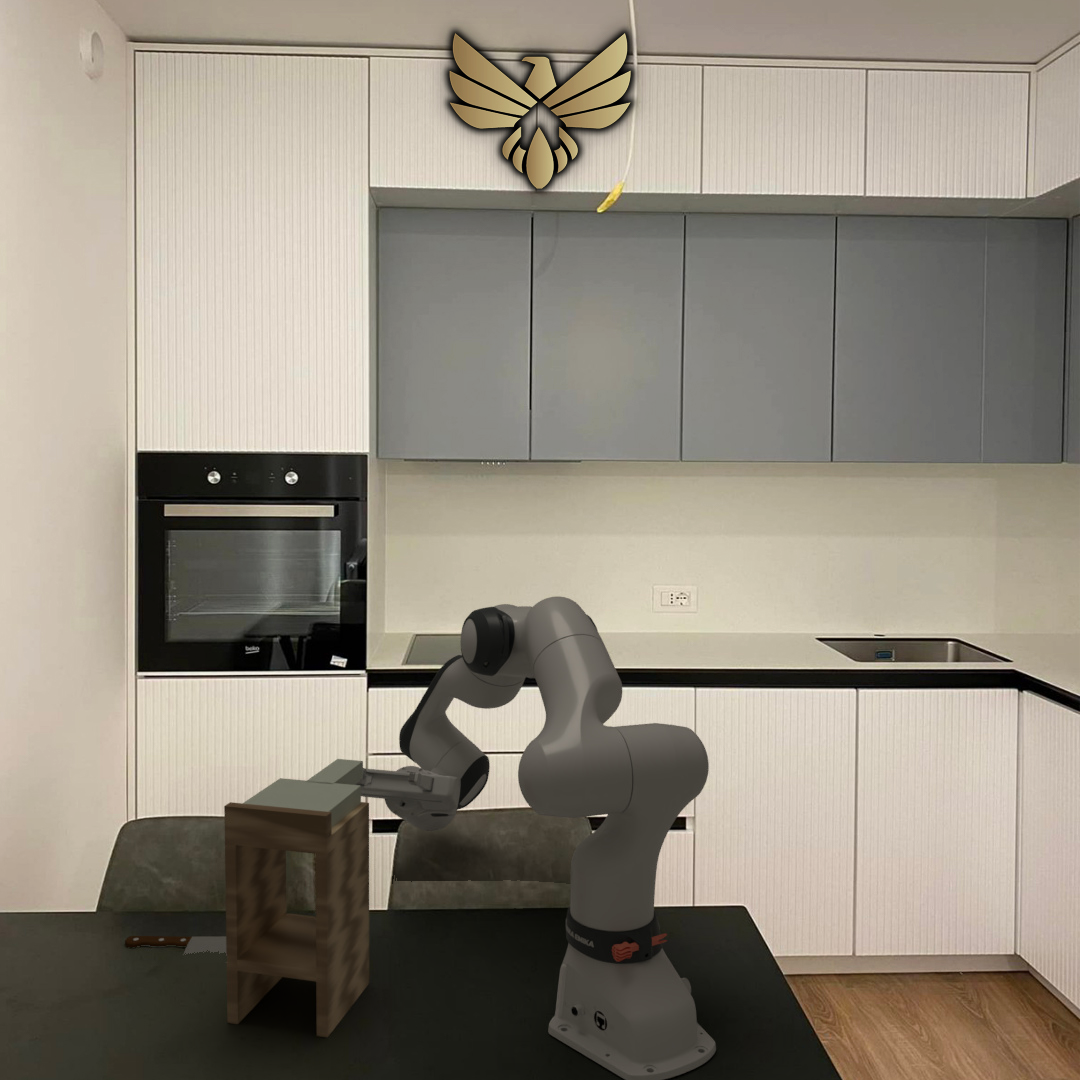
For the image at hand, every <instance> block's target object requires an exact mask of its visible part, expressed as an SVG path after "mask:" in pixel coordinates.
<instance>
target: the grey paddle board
mask: <svg viewBox="0 0 1080 1080" xmlns="http://www.w3.org/2000/svg"><path fill="white" fill-rule="evenodd" d="M363 768H364V761H363V760H355V759H354V760H353V759H344V758H343V759H342V758H337V759H336V760H334V761H333V762H332V763H330V764H328V765H326V767H324V768H323V769H321V770H320V771H318V772H317V773H315V774H314V775H313V776H311V777H310V778H308V779H307V780H305V779H304V780H301V779H294V778H293V779H291V778H278V779H276V780H275V781H274V782H272V783H271V784H269V785H268V786H266V787H265V788H263V789H262V790H260V791H259V792H257V793H256V794H255V795H253V796H251V797H250V798H248V799H247V800H245V801H244V802H242V803H243V804H253V805H263V806H274V807H284V808H294V809H304V810H314V811H325V812H331V828H332V827H334V826H335V825H336V824H337V823H338V822H339V821H341V820H342V819H343V818H344V817H345V816H346V815H348V814H349V813H350V812H351V811H352V810H354V809H355V808H356V807H357V806H358V805H359V804H361V802H362V799H361V798H362V796H361V786H360V785H354V784H355V783H357V782H358V781H359V780H360V779H362V778H363Z"/></svg>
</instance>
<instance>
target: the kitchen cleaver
mask: <svg viewBox="0 0 1080 1080" xmlns="http://www.w3.org/2000/svg"><path fill="white" fill-rule="evenodd" d="M124 945H126V946H128V947H137V946H141V945H150V946H166V945H176V946H187V947H186V948H184V949H185V950H184V952H183V954H182V956H183V955H184V954H185V953H186V954H188V953H189V954H190V953H191V954H192V953H194V952H195V953H197V952H198V953H199V952H203V951H204V952H206V951H207V950H208V951H210V953H211V952H213V953H214V952H218V951H219V954H220V953H224V952H225V953H226V935H225V936H192V935H191V936H174V935H173V936H169V935H168V936H166V935H164V936H163V935H156V936H155V935H131V936H128V937H127V938H126V939H125V940H124ZM126 946H125V947H126ZM128 947H127V948H128ZM208 951H207V952H208ZM204 952H203V953H204ZM195 953H194V954H195ZM186 954H185V955H186Z"/></svg>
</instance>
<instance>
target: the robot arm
mask: <svg viewBox="0 0 1080 1080" xmlns="http://www.w3.org/2000/svg"><path fill="white" fill-rule="evenodd" d="M459 644H460V651H461V652H460V653H461V654H458V655H454V656H453V657H452V658H450V659H448V660H447V661H445V663H443V665H442V666H441V667H440V668H439V670H438V671H437V672H436V674H435V676H434V677H433V679H432V680H431V682H430V684H429V686H428V687H427V689H426V690H425V692H424V694H423V696H422V697H421V699H420V701H419V703H418V705H417V706H416V708H415V709H414V711H413V712H412V713H411V715H410V716H409V717H408V718H407V720H406V721H405V722H404V723H403V725H402V726H401V728H400V731H399V738H398V739H399V750H400V752H401V753H402V754H403V755H404V756H406V757H407V758H408V759H410V760H411V761H412V762H414V763H415V764H416V765H418V766H416V765H407V766H403V767H400V768H398V769H397V770H385V769H376V768H375V769H374V768H365V767H363V778H362V779H360V780H359V781H358V782H357V783H355V784H354V785H360V786H361V797H364V798H371V799H372V798H373V799H374V798H375V799H382V800H383V799H384V802H385V804H386V807H387V809H389V811H390V812H391V813H392V814H394V815H395V816H397V817H399V818H401V819H402V820H403V821H405V822H407V823H408V824H410V825H411V826H413V827H415V828H417V829H419V830H421V831H425V832H426V831H427V832H435V831H439V830H443V829H444V828H446V827H447V826H449V825H450V824H451V822H452V821H454V819H455V816H456V814H457V812H458V810H461V809H464V808H466V807H467V806H468V805H470V804H471V803H472V802H473V801H474V800H476V798H477V797H478V796H479V795H480V794H481V793H482V792H483V790H484V789H485V787H486V785H487V783H488V780H489V774H490V759H489V756H488V755H487V754H486V753H484V751H482V750H481V749H480V748H479V747H478V746H477V744H475V743H473V741H472V740H470V739H469V738H468V737H467V736H466V735H465V734H464V733H463V732H462V731H460V730H459V729H458V728H457V727H456V726H455V725H454V724H453V722H452V721H450V719H449V717H448V716H447V714H446V713H447V712H446V711H447V710H448V709H449V706H450V705H451V703H452V701H453V700H454V699H457V700H458V701H461V702H463V703H465V704H467V705H469V706H471V707H475V708H476V709H477V708H478V709H485V710H487V709H488V710H489V709H490V710H491V709H496V708H500V707H501V708H502V707H503V706H505V705H507V704H509V703H510V702H512V701H513V700H514V699H515V698H516V696H517V695H518V694H519V692H520V691H521V689H522V687H523V685H524V682H525V680H526V678H528V679H535V681H536V684H537V687H538V689H539V690H538V691H539V693H540V696H541V700H542V703H543V706H544V711H545V721H544V724H543V728H541V731H540V732H539V734H538V735H537V736H536V737H535V738H533V739H532V740H531V741H530V742H529V743H528V745H527V746H526V747H525V749H524V751H523V752H522V755H521V756H520V761H519V762H518V763H519V764H518V770H517V778H518V780H517V781H518V786H519V790H520V792H521V794H522V796H523V798H524V801H525V802H526V804H527V806H528V807H530V808H531V810H532V811H534V812H535V813H537V814H538V815H540V816H548V817H555V818H568V819H577V818H578V819H579V818H584V817H585V818H587V817H593V816H595V817H596V816H602V815H606V817H605V819H604V821H602V823H601V824H600V825H599V827H597V828H596V830H595V831H593V832H592V833H590V834H588V836H586V837H585V838H584V839H583V840H582V841H581V842H579V844H578V845H577V846H576V848H575V850H574V852H573V854H572V858H571V860H570V900H569V907H568V908H567V910H566V918H565V937H566V938H565V939H566V941H567V943H568V944H567V948H566V951H565V953H564V954H565V955H564V957H563V960H562V963H561V965H560V968H559V976H558V985H557V994H556V1004H555V1012H554V1016H552V1018H550V1019H551V1020H550V1021H549V1022H548V1029H547V1030H548V1031H547V1032H548V1034H549V1035H550V1036H552V1037H553V1038H555V1039H556V1040H558V1041H560V1042H562V1043H563V1044H565V1045H567V1046H569V1047H570V1048H571V1049H573V1050H575V1051H576V1052H579V1053H580V1054H582V1055H583V1056H585V1057H586V1058H588V1059H590V1060H591V1061H593V1062H595V1063H597V1065H600V1066H602V1067H603V1068H605V1069H606V1070H608V1071H610V1072H611V1073H613V1074H615V1075H616V1076H618V1077H620V1078H622V1079H623V1080H668V1079H671V1078H675V1077H676V1076H677V1077H678V1076H680V1075H682V1074H686V1073H687V1072H691V1071H692V1070H695V1069H696V1068H699V1067H701V1066H703V1065H704V1064H705V1063H707V1062H708V1061H709V1060H710V1059H711V1058H712V1057H713V1056H714V1055H715V1053H716V1051H717V1043H716V1041H715V1040H714V1039H713V1037H712V1036H710V1035H709V1034H708V1032H706V1030H705V1029H704V1028H703V1027H702V1025H700V1024H699V1023H698V1020H697V1010H696V1003H695V1000H694V998H693V995H692V986H691V982H690V981H689V979H688V978H687V977H680V975H679V973H678V972H677V970H676V968H675V967H674V966H673V963H672V961H670V959H669V957H668V956H667V954H666V952H665V951H664V949H663V945H664V943H666V942H667V941H668V940H667V939H664V938H665V937H667V936H668V934H667V933H661V929H660V923H659V919H658V915H657V912H656V911H655V895H656V894H655V893H656V879H657V869H658V863H659V862H658V861H659V856H660V853H661V849H662V847H663V844H664V842H665V840H666V838H667V835H668V832H669V831H670V829H671V827H672V826H673V824H674V823H675V821H676V819H677V818H678V816H679V815H680V814H681V812H682V811H684V809H685V808H686V807H687V805H689V804H690V803H691V802H692V801H693V800H694V799H696V798H697V797H698V796H699V795H700V794H701V793H702V791H703V790H704V788H705V785H706V783H707V781H708V780H707V779H708V776H709V768H710V766H709V763H710V762H709V757H708V753H707V750H706V747H705V745H704V743H703V741H702V740H701V738H700V737H699V736H698V734H696V733H695V732H694V730H692V729H691V728H689V727H688V726H683V725H682V726H681V725H675V724H669V723H656V722H653V723H642V724H631V725H630V724H629V725H620V726H618V725H617V726H611V725H610V726H608V725H605V723H607V721H608V720H610V718H611V717H612V716H613V715H614V714H615V712H617V710H618V709H619V706H620V704H621V703H622V697H623V683H622V680H621V678H620V676H619V674H618V671H617V669H616V666H615V665H614V662H613V661H612V658H611V656H610V653H609V652H608V649H607V648H606V645H605V643H604V641H603V639H602V637H601V635H600V633H599V631H598V628H597V625H596V624H595V622H594V620H593V619H592V617H591V616H589V615H588V614H587V613H586V612H585V611H584V610H583V609H582V607H581V606H580V604H578V603H577V602H576V601H574V600H572V599H571V598H568V597H565V596H551V597H547V598H544V599H541V600H540V601H538V602H537V603H535V604H534V605H533V606H530V605H529V606H523V605H521V606H517V605H513V604H509V603H504V604H503V603H502V604H497V605H494V606H487V607H482V608H478V609H475V610H472V612H470V613H469V615H468V616H467V617H466V618H465V620H464V621H463V624H462V628H461V633H460V643H459Z"/></svg>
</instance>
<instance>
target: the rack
mask: <svg viewBox="0 0 1080 1080" xmlns="http://www.w3.org/2000/svg"><path fill="white" fill-rule="evenodd" d="M243 803H244V802H229V803H226V804H225V805H224V807H223V809H224V812H223V815H224V869H225V870H224V872H225V874H224V876H225V878H224V879H225V881H224V882H225V884H224V885H225V886H224V887H225V936H226V956H227V962H226V998H227V999H226V1004H227V1006H226V1009H227V1010H226V1011H227V1012H226V1013H227V1014H226V1016H227V1020H226V1021H227V1024H234V1025H239V1024H240V1023H241V1022H242V1021H243V1020H244V1018H246V1017H247V1015H248V1014H249V1013H251V1011H252V1010H253V1009H254V1008H255V1007H256V1006H257V1005H258V1003H260V1001H261V1000H262V999H263V998H264V997H265V996H266V995H267V994H268V993H269V992H270V991H271V990H272V989H273V988H274V986H276V985H277V984H278V982H279V981H280V980H281V979H283V978H286V979H296V980H301V981H309V982H315V983H316V984H315V985H316V986H315V987H316V992H315V993H316V995H315V996H316V997H315V998H316V1008H315V1009H316V1011H315V1012H316V1037H321V1038H329V1036H330V1035H331V1033H333V1032H334V1030H335V1028H336V1027H337V1026H338V1025H339V1024H340V1022H341V1021H342V1020H343V1018H344V1017H345V1016H346V1014H347V1013H348V1011H350V1010H351V1008H352V1007H353V1005H354V1004H355V1002H356V1001H357V1000H358V999H359V997H360V996H361V995H362V994H363V992H364V991H365V990H366V988H367V987H368V986H369V984H370V802H364V801H361V804H359V805H358V806H357V807H356V808H355V809H354V810H352V811H351V812H350V813H349V814H348V815H346V816H345V817H344V818H343V819H342V820H341V821H339V822H338V823H337V824H336V825H335V826H334V827H332V828H331V812H325V811H314V810H304V809H294V808H284V807H274V806H263V805H253V804H243ZM287 852H296V853H305V854H311V855H313V854H314V855H315V916H312V915H304V914H295V913H287Z"/></svg>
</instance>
